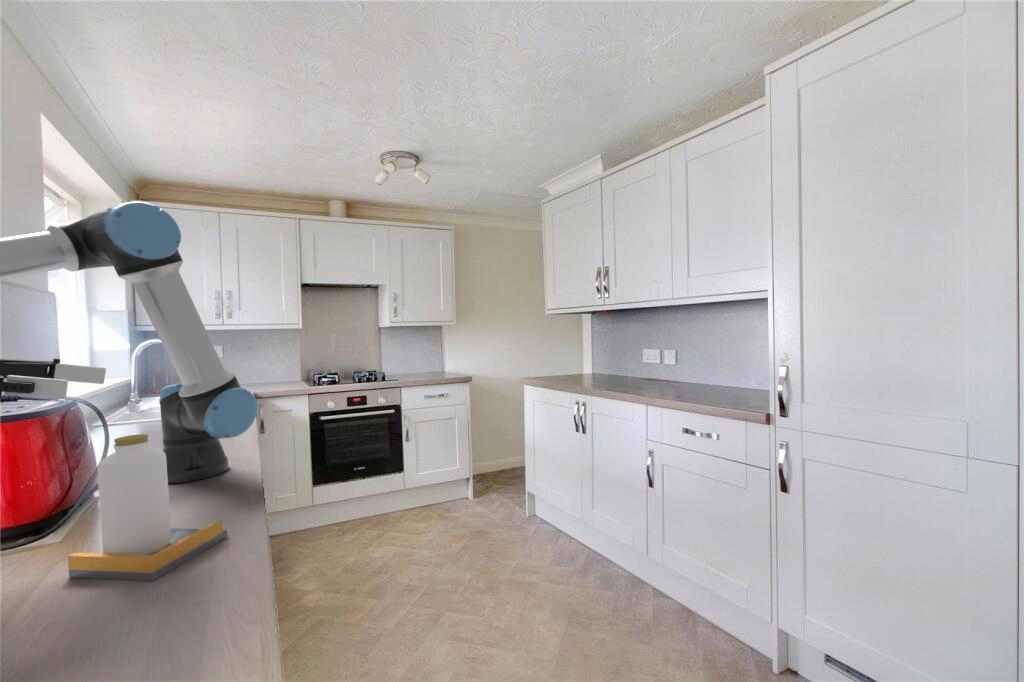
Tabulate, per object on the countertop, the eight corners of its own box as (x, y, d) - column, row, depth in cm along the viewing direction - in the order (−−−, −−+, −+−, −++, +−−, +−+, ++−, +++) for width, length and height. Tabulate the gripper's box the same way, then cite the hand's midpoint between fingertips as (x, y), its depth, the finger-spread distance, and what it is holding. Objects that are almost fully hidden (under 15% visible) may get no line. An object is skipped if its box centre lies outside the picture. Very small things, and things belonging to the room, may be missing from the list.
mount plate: (155, 534, 82) (154, 516, 82) (227, 536, 80) (226, 518, 80) (69, 577, 68) (67, 555, 68) (153, 581, 66) (151, 559, 66)
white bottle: (183, 544, 75) (176, 432, 74) (122, 570, 67) (113, 445, 67) (153, 536, 78) (146, 429, 78) (91, 560, 71) (83, 441, 70)
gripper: (-44, 378, 79) (113, 391, 87) (-192, 410, 56) (41, 423, 64) (-37, 334, 78) (119, 351, 87) (-183, 348, 56) (49, 369, 64)
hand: (86, 382), depth 75 cm, fingers open, 13 cm apart
